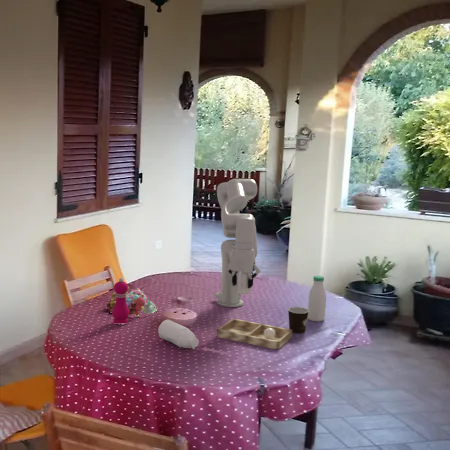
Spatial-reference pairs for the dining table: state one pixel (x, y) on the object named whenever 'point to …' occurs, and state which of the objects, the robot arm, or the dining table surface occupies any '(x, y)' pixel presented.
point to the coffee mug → (298, 319)
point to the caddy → (253, 333)
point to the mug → (242, 283)
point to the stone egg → (269, 333)
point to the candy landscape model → (134, 303)
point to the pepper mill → (120, 302)
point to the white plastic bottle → (177, 334)
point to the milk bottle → (317, 300)
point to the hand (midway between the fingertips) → (242, 286)
